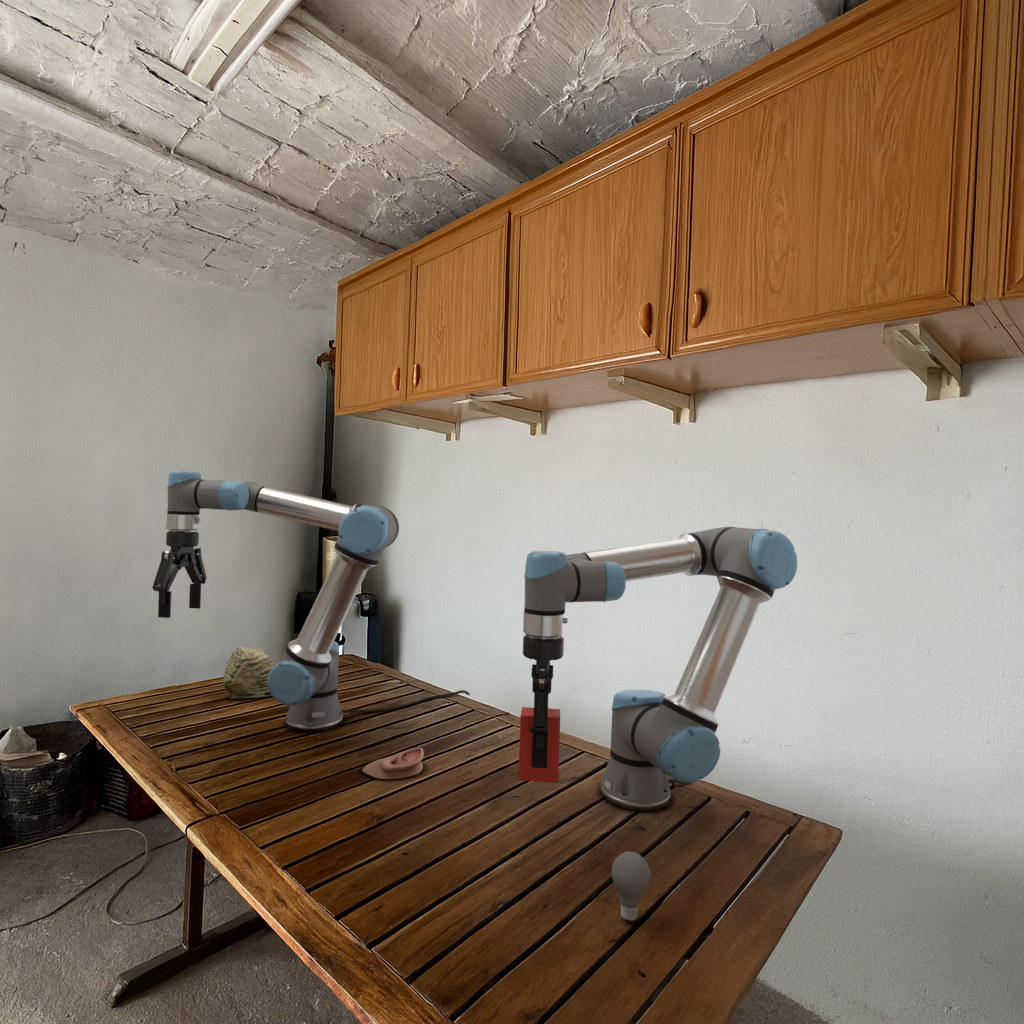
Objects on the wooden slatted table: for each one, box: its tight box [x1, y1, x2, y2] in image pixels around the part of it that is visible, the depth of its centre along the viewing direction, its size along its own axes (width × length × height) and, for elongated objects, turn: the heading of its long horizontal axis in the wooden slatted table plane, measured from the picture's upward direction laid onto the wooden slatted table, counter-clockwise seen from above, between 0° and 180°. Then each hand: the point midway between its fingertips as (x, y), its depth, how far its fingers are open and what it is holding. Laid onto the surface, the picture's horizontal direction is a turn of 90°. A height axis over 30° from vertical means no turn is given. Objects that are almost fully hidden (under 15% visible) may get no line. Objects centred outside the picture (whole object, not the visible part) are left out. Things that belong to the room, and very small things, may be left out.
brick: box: [518, 706, 561, 784], centre depth 117 cm, size 7×5×12 cm, turn 86°
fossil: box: [222, 646, 276, 699], centre depth 198 cm, size 9×18×15 cm, turn 132°
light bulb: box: [611, 851, 652, 921], centre depth 99 cm, size 6×6×10 cm
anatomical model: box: [361, 747, 425, 780], centre depth 148 cm, size 13×4×12 cm
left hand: (180, 612), depth 164 cm, fingers open, 13 cm apart
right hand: (539, 760), depth 117 cm, fingers closed on brick, 5 cm apart
